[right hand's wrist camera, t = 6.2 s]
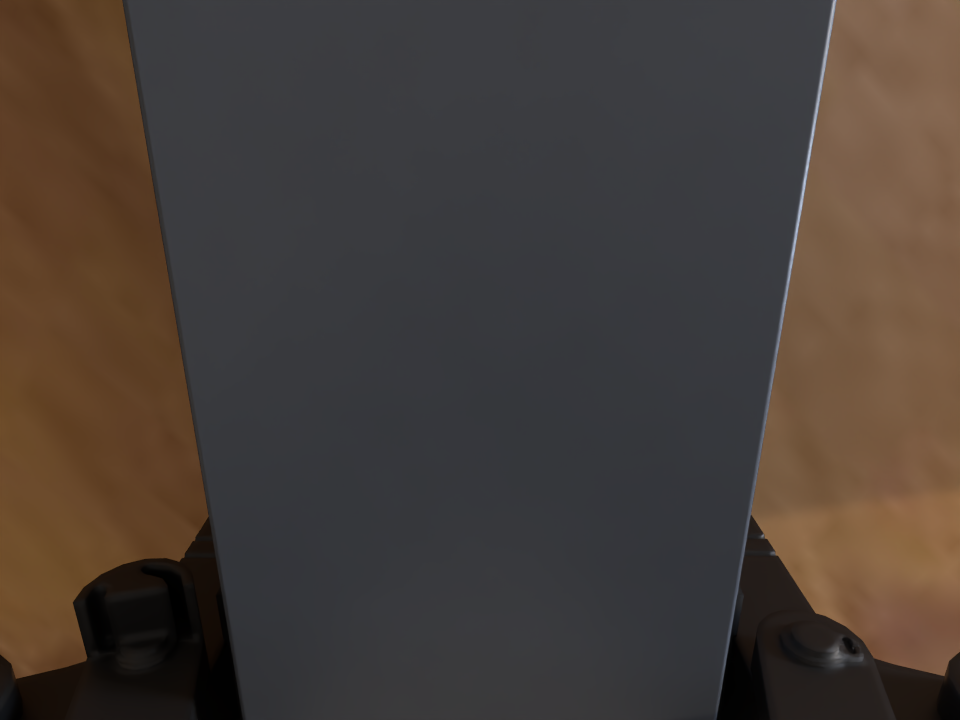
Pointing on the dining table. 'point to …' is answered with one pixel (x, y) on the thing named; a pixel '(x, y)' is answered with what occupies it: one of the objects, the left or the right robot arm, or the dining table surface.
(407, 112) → the board
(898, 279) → the dining table surface
